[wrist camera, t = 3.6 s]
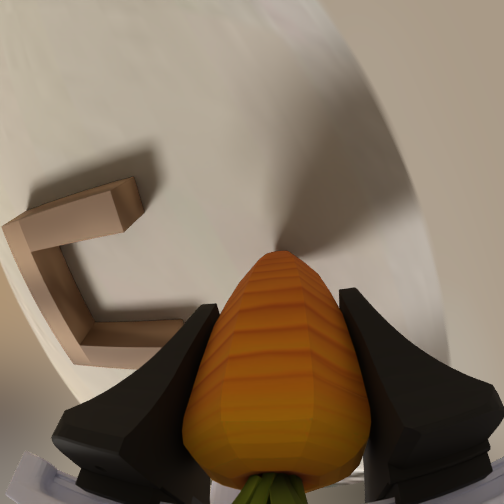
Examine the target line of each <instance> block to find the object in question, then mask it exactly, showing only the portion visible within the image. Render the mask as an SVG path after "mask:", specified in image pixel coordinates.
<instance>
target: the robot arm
mask: <svg viewBox="0 0 504 504" xmlns="http://www.w3.org/2000/svg"><path fill="white" fill-rule="evenodd" d="M339 309H340V310H341V312H342V314H343V316H344V319H345V322H346V325H347V328H348V331H349V334H350V337H351V340H352V343H353V346H354V349H355V352H356V356H357V359H358V363H359V367H360V370H361V374H362V378H363V382H364V386H365V390H366V394H367V398H368V402H369V406H370V414H371V426H370V433H369V438H368V441H367V444H366V447H365V450H364V453H363V462H364V480H365V504H504V457H502V458H500V459H498V460H496V461H494V462H492V463H490V459H489V456H488V453H487V452H488V451H489V450H490V444H489V442H488V438H489V437H490V436H491V434H492V433H493V432H494V431H495V429H496V428H497V427H498V426H499V424H500V423H501V421H502V419H503V418H504V406H503V404H502V401H501V399H500V397H499V395H498V393H497V391H496V390H495V388H494V386H493V385H491V384H489V383H486V382H484V381H481V380H478V379H475V378H473V377H470V376H468V375H466V374H463V373H461V372H459V371H457V370H455V369H453V368H451V367H449V366H447V365H445V364H443V363H442V362H440V361H438V360H437V359H435V358H433V357H432V356H430V355H428V354H427V353H425V352H424V351H422V350H421V349H419V348H418V347H417V346H415V345H414V344H413V343H411V342H410V341H409V340H408V339H406V338H405V337H404V336H403V335H402V334H400V333H399V332H398V331H397V330H396V329H395V328H394V327H393V326H391V325H390V324H389V323H388V322H387V321H386V320H385V319H384V318H383V317H382V316H381V315H380V314H379V313H378V312H377V311H376V310H375V309H374V308H373V306H372V305H371V304H370V303H369V302H368V301H367V300H366V299H365V298H364V296H363V295H362V294H361V293H360V292H359V290H358V289H356V288H348V289H340V290H339ZM219 316H220V313H219V310H218V307H217V304H216V303H215V304H203V305H201V306H200V307H199V308H198V309H197V310H196V311H195V312H194V313H193V315H192V316H191V317H190V318H189V319H188V320H187V321H186V323H185V324H184V325H183V326H182V327H181V328H180V329H179V330H178V331H177V333H176V334H175V335H174V336H173V337H172V338H171V339H170V340H169V341H168V342H167V343H166V344H165V345H164V346H163V347H162V348H161V349H160V350H159V351H158V352H157V353H156V354H155V355H154V356H153V357H152V358H151V359H150V360H148V361H147V362H146V363H145V364H144V365H143V366H141V367H140V368H139V369H138V370H136V371H135V372H134V373H133V374H131V375H130V376H128V377H127V378H125V379H124V380H122V381H121V382H120V383H118V384H117V385H115V386H114V387H112V388H110V389H109V390H107V391H105V392H104V393H102V394H100V395H98V396H96V397H94V398H93V399H91V400H89V401H86V402H84V403H82V404H80V405H77V406H75V407H73V408H71V409H68V410H65V411H64V414H63V416H62V417H61V419H60V421H59V423H58V425H57V427H56V429H55V431H54V433H53V435H52V437H51V438H52V441H53V444H54V445H55V446H56V447H57V448H58V449H59V450H60V451H61V452H62V453H63V454H64V455H65V456H67V457H68V458H69V459H70V460H72V461H73V462H74V463H75V464H77V465H78V466H79V467H80V468H81V470H80V473H79V476H78V478H77V477H74V476H72V475H69V474H67V473H64V472H62V471H60V470H57V468H56V467H55V466H53V465H52V464H51V463H49V462H48V461H46V460H45V459H43V458H41V457H39V456H37V455H35V454H33V453H31V452H29V451H25V452H24V453H23V455H22V458H21V460H20V462H19V464H18V466H17V468H16V470H15V472H14V474H13V477H12V479H11V481H10V483H9V486H8V488H7V490H6V493H5V494H6V496H8V497H9V498H11V499H12V500H14V501H15V502H17V503H18V504H232V502H233V501H234V500H235V498H236V497H237V496H238V494H239V493H240V491H241V490H238V489H234V488H230V487H226V486H223V485H221V484H219V483H217V482H215V481H212V487H211V492H210V477H209V476H208V475H207V473H206V472H205V471H204V470H203V469H202V468H201V466H200V465H199V464H198V463H197V462H196V460H195V459H194V458H193V457H192V455H191V454H190V452H189V451H188V450H187V448H186V447H185V446H184V444H183V436H182V426H183V419H184V415H185V411H186V408H187V405H188V402H189V398H190V395H191V392H192V389H193V385H194V382H195V379H196V376H197V372H198V369H199V366H200V363H201V360H202V358H203V355H204V352H205V349H206V346H207V344H208V341H209V338H210V335H211V333H212V330H213V327H214V325H215V323H216V321H217V319H218V318H219Z"/></svg>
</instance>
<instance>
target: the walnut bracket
mask: <svg viewBox="0 0 504 504" xmlns="http://www.w3.org/2000/svg"><path fill="white" fill-rule="evenodd" d="M143 214H144V209H143V206H142V203H141V199H140V196H139V192H138V189H137V185H136V182H135V178H134V177H130V178H126V179H123V180H119V181H115V182H112V183H109V184H105V185H102V186H98V187H95V188H92V189H89V190H85V191H82V192H79V193H76V194H73V195H70V196H67V197H64V198H61V199H58V200H55V201H52V202H49V203H47V204H44V205H41V206H38V207H36V208H33V209H30V210H28V211H25V212H24V213H22V214H20V215H19V216H17V217H16V218H14V219H12V220H11V221H9V222H8V223H6V224H5V225H3V226H2V229H3V232H4V235H5V237H6V240H7V242H8V245H9V247H10V249H11V252H12V254H13V256H14V259H15V261H16V263H17V265H18V268H19V270H20V272H21V274H22V276H23V278H24V280H25V282H26V284H27V286H28V288H29V290H30V292H31V294H32V296H33V298H34V300H35V302H36V304H37V306H38V307H39V309H40V311H41V313H42V315H43V316H44V318H45V320H46V322H47V323H48V325H49V327H50V328H51V330H52V332H53V333H54V335H55V336H56V338H57V340H58V341H59V343H60V344H61V346H62V348H63V349H64V351H65V352H66V354H67V355H68V357H69V358H70V360H71V361H72V362H73V364H75V365H85V366H95V367H107V368H120V369H139V368H140V367H141V366H143V365H144V364H145V363H146V362H147V361H148V360H150V359H151V358H152V357H153V356H154V355H155V354H156V353H157V352H158V351H159V350H160V349H161V348H162V347H163V346H164V345H165V344H166V343H167V342H168V341H169V340H170V339H171V338H172V337H173V336H174V335H175V334H176V333H177V331H178V330H179V329H180V328H181V327H182V326H183V325H184V323H183V320H182V319H178V320H158V321H133V322H95V321H94V319H93V317H92V315H91V314H90V312H89V310H88V308H87V306H86V304H85V302H84V300H83V298H82V296H81V294H80V292H79V290H78V288H77V286H76V284H75V281H74V279H73V277H72V275H71V273H70V270H69V268H68V266H67V264H66V261H65V259H64V257H63V254H62V252H61V250H60V247H59V245H64V244H69V243H73V242H78V241H83V240H88V239H92V238H97V237H102V236H107V235H112V234H118V233H123V232H125V231H126V230H127V229H128V228H129V227H130V226H131V225H132V224H133V223H134V222H135V221H136V220H137V219H138V218H139V217H141V216H142V215H143Z"/></svg>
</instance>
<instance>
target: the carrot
mask: <svg viewBox="0 0 504 504" xmlns="http://www.w3.org/2000/svg"><path fill="white" fill-rule="evenodd" d="M370 426H371V414H370V406H369V402H368V398H367V394H366V390H365V386H364V382H363V378H362V374H361V370H360V367H359V363H358V359H357V356H356V352H355V349H354V346H353V343H352V340H351V337H350V334H349V331H348V328H347V325H346V322H345V319H344V316H343V314H342V312H341V310H340V309H339V307H338V305H337V303H336V301H335V300H334V298H333V296H332V294H331V292H330V291H329V289H328V288H327V286H326V285H325V283H324V282H323V280H322V279H321V277H320V276H319V274H318V273H316V272H315V271H314V270H313V269H312V268H310V267H309V266H308V265H307V264H306V263H304V262H303V261H302V260H300V259H299V258H297V257H296V256H294V255H293V254H292V253H290V252H289V251H275V252H271V253H267V254H265V255H264V256H263V257H262V258H260V259H259V260H258V261H257V263H256V264H255V265H254V266H253V267H252V268H251V270H250V271H249V272H248V273H247V274H246V275H245V277H244V278H243V279H242V280H241V281H240V282H239V284H238V286H237V287H236V289H235V290H234V292H233V293H232V295H231V297H230V298H229V300H228V301H227V303H226V305H225V307H224V309H223V310H222V312H221V314H220V316H219V318H218V319H217V321H216V323H215V325H214V327H213V330H212V333H211V335H210V338H209V341H208V344H207V346H206V349H205V352H204V355H203V358H202V360H201V363H200V366H199V369H198V372H197V376H196V379H195V382H194V385H193V389H192V392H191V395H190V398H189V402H188V405H187V408H186V411H185V415H184V419H183V426H182V436H183V444H184V446H185V447H186V448H187V450H188V451H189V452H190V454H191V455H192V457H193V458H194V459H195V460H196V462H197V463H198V464H199V465H200V466H201V468H202V469H203V470H204V471H205V472H206V473H207V475H208V476H209V477H210V478H211V479H212V480H213V481H215V482H217V483H219V484H221V485H223V486H226V487H230V488H234V489H238V490H241V491H240V493H239V494H238V496H237V497H236V498H235V500H234V501H233V502H232V504H308V503H307V499H306V495H305V493H307V492H311V491H314V490H317V489H320V488H323V487H325V486H328V485H331V484H334V483H336V482H339V481H341V480H342V479H344V478H346V477H348V476H350V475H351V474H352V472H353V471H354V470H355V469H356V468H357V467H358V466H359V465H360V462H361V459H362V456H363V453H364V450H365V447H366V444H367V441H368V438H369V433H370Z"/></svg>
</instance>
